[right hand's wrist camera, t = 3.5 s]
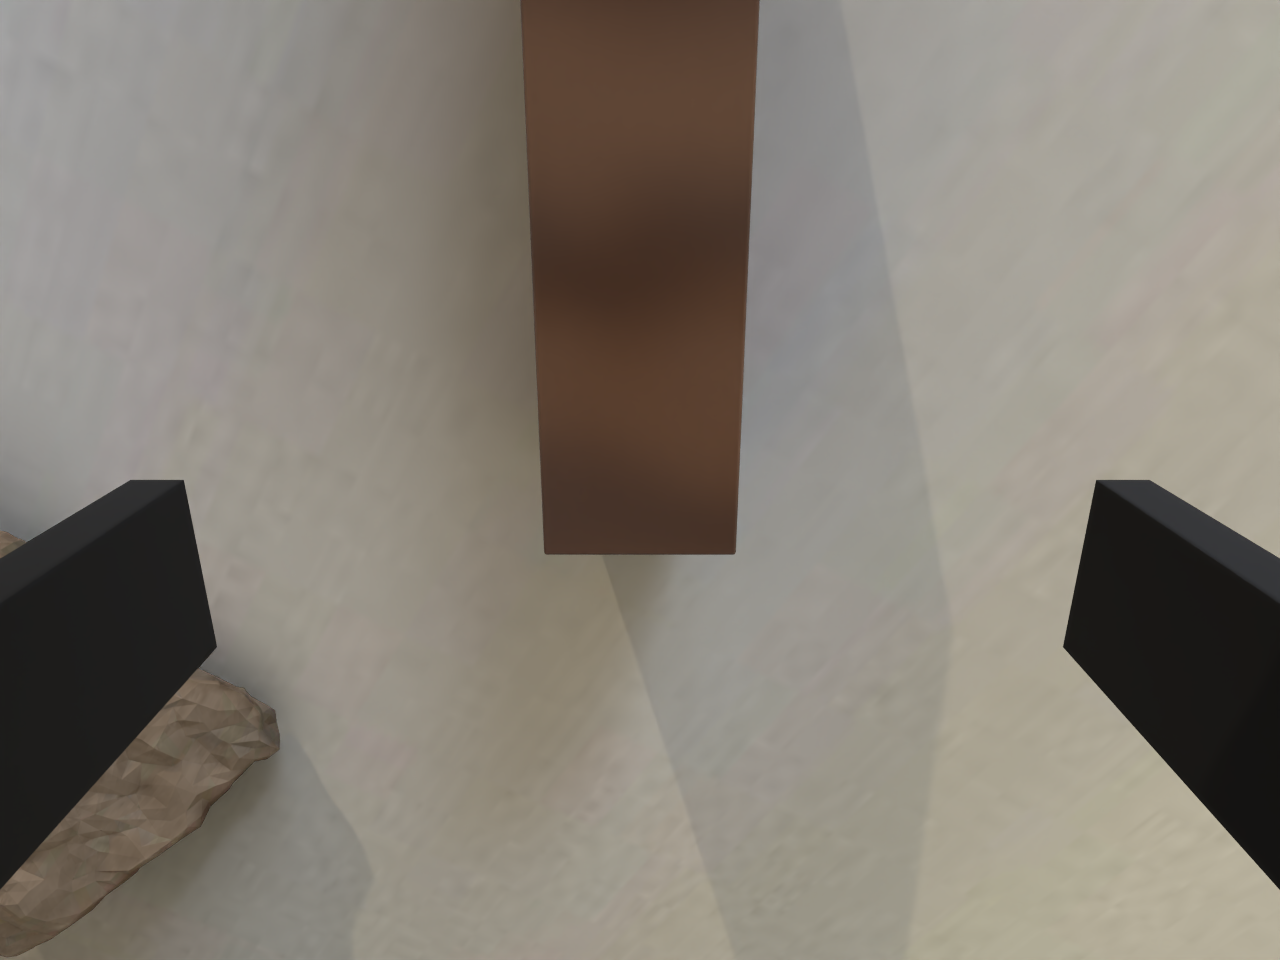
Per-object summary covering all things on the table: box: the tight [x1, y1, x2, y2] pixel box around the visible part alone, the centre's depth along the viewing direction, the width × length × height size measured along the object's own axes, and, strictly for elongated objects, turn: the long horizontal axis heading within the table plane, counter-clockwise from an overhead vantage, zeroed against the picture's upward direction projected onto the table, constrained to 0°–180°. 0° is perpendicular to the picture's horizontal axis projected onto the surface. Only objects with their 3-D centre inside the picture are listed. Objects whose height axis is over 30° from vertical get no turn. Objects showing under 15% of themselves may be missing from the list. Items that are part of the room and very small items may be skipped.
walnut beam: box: [520, 0, 760, 554], centre depth 21 cm, size 26×5×8 cm, turn 0°
